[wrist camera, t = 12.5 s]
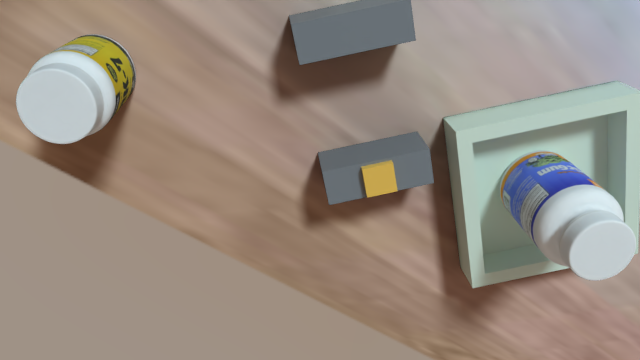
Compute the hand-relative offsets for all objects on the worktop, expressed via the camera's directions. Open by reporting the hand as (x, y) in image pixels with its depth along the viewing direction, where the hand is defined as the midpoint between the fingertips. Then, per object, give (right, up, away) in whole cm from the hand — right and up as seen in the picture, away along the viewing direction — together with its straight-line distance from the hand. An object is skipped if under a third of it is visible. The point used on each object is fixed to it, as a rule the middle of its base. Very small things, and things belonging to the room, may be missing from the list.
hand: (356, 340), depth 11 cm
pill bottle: (+15, +3, +32) cm, 35 cm away
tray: (+15, +3, +32) cm, 36 cm away
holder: (+2, +9, +29) cm, 30 cm away
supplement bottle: (-15, +10, +27) cm, 32 cm away
